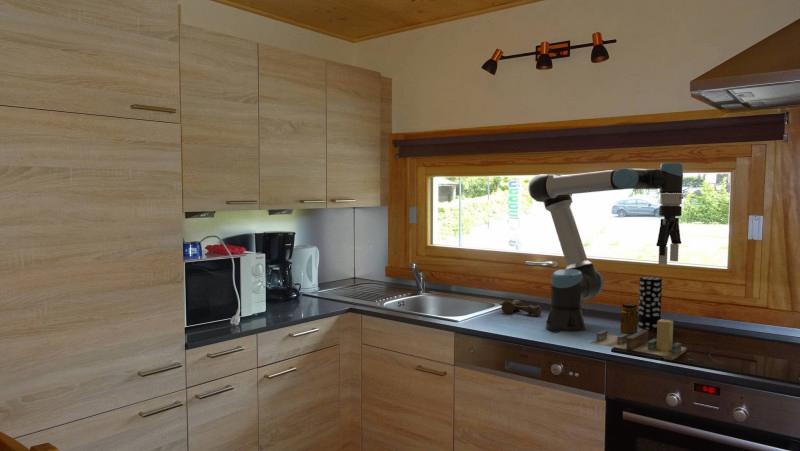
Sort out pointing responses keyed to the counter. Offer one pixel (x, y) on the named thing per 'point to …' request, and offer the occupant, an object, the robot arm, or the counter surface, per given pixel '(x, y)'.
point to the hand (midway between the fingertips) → (668, 262)
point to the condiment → (629, 318)
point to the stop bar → (664, 335)
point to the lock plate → (641, 348)
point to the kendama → (520, 307)
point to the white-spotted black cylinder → (649, 302)
